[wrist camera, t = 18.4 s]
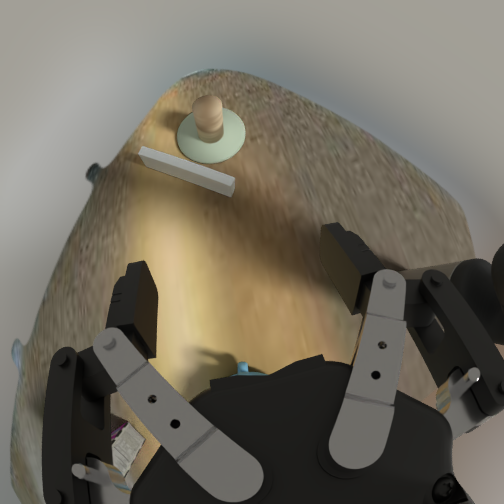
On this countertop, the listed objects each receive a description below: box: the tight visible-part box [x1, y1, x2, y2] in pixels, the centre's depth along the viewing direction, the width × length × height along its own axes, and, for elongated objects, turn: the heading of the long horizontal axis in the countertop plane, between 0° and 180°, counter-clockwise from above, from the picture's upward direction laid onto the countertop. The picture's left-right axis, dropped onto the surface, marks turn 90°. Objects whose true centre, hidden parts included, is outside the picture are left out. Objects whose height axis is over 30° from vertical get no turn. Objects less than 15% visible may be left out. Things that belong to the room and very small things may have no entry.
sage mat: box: [177, 108, 245, 164], centre depth 46 cm, size 12×12×1 cm
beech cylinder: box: [192, 95, 224, 144], centre depth 41 cm, size 4×4×8 cm
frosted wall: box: [138, 146, 235, 197], centre depth 42 cm, size 16×2×5 cm, turn 68°
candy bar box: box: [111, 421, 146, 478], centre depth 29 cm, size 11×5×16 cm, turn 131°
